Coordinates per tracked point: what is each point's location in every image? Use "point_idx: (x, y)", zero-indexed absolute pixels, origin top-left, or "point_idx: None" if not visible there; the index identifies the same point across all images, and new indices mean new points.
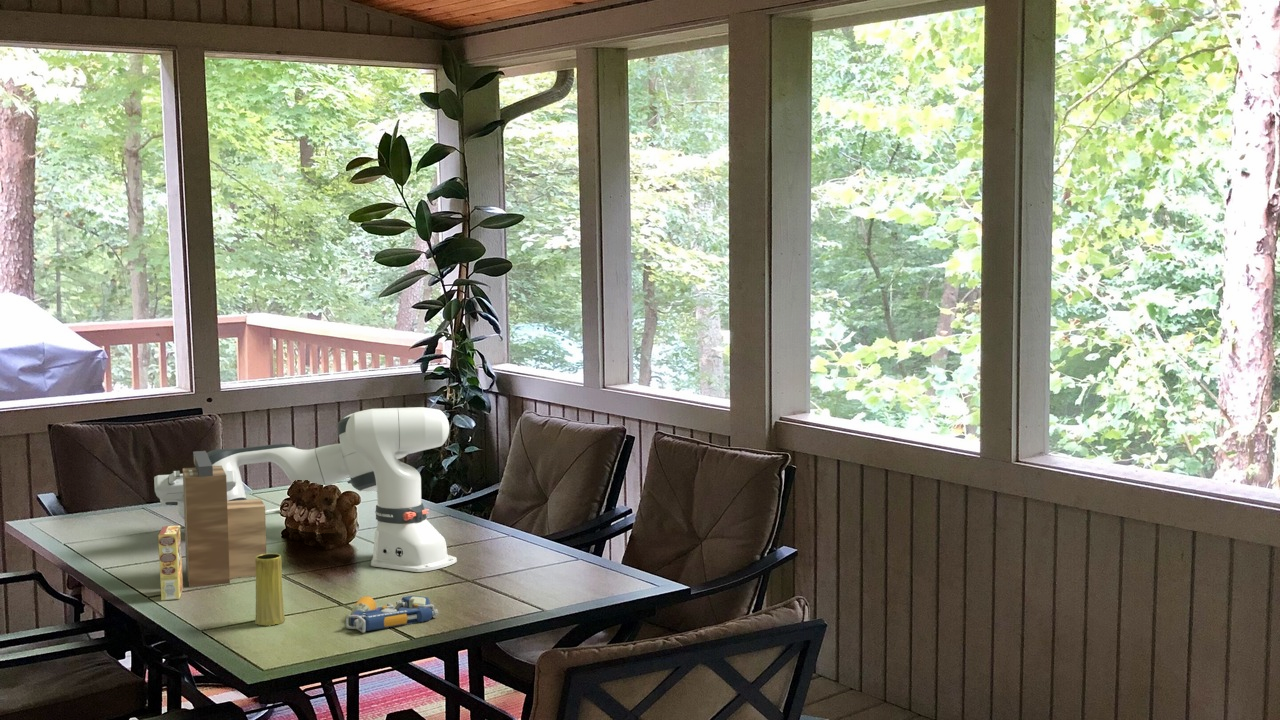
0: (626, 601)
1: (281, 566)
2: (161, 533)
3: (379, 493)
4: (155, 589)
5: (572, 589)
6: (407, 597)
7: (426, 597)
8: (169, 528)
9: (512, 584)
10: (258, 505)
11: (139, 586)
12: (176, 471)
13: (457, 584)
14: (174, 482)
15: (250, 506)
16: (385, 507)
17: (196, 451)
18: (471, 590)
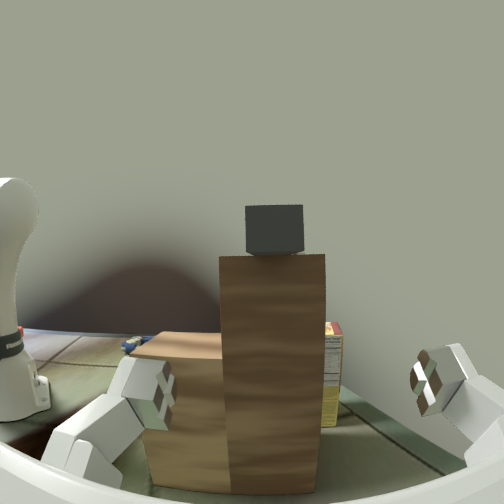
0: (47, 330)
1: (220, 316)
2: (334, 323)
3: (11, 312)
4: (352, 432)
5: (38, 339)
6: (132, 344)
7: (122, 342)
8: (328, 329)
9: (43, 350)
10: (169, 334)
11: (382, 443)
12: (439, 347)
13: (62, 361)
14: (466, 454)
15: (185, 334)
16: (17, 329)
17: (287, 205)
18: (70, 354)
